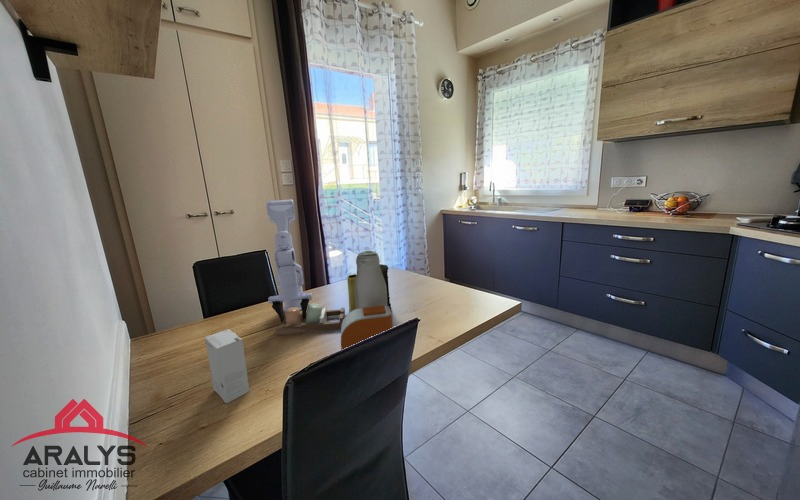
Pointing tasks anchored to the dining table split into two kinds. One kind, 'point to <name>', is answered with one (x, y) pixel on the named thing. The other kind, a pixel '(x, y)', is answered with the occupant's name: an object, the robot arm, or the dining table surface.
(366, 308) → the alarm clock
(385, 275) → the container
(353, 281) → the vase
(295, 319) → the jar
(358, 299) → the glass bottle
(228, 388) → the skincare box
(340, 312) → the lane
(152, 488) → the dining table surface
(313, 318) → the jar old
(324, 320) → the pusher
